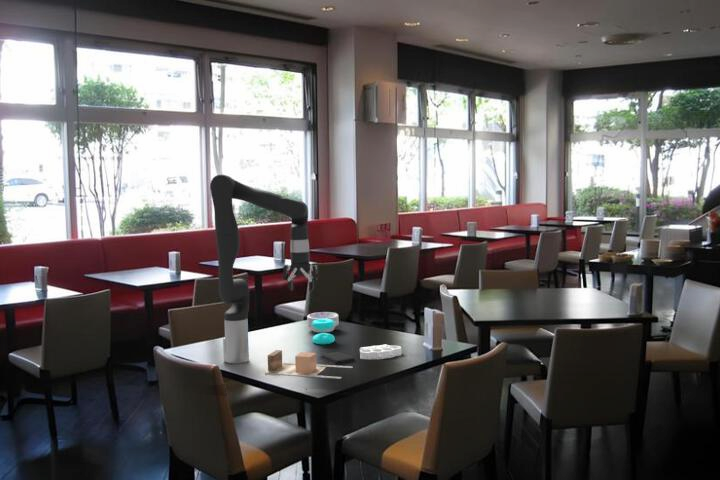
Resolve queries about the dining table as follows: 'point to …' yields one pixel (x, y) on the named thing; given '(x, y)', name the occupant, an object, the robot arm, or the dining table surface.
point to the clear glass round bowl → (323, 316)
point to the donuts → (322, 325)
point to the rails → (312, 375)
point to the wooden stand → (285, 365)
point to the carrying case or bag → (337, 358)
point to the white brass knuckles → (379, 352)
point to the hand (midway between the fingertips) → (301, 290)
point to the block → (305, 362)
